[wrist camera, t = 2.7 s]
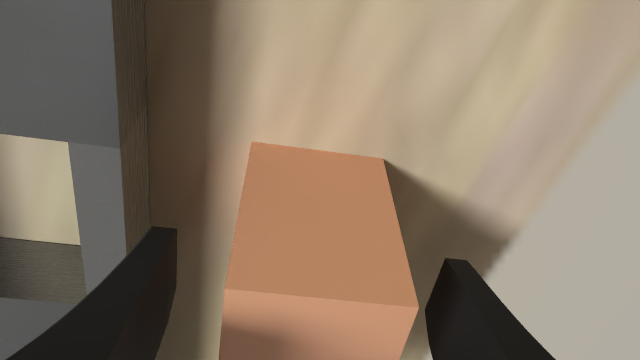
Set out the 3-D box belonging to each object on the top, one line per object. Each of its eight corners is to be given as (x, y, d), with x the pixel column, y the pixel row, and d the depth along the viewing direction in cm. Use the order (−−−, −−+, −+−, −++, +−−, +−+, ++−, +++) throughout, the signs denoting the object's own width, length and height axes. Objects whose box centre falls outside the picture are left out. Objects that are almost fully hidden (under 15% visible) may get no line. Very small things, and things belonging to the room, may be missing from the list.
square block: (356, 256, 18) (376, 418, 13) (241, 243, 17) (215, 406, 12) (383, 158, 16) (419, 308, 11) (251, 141, 15) (224, 288, 10)
